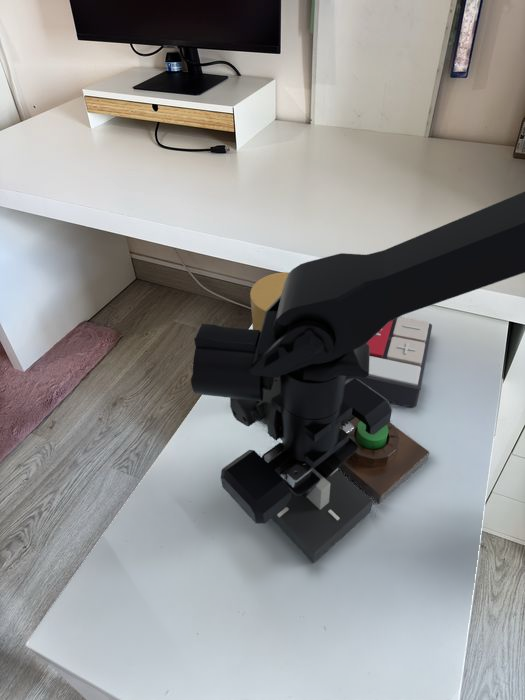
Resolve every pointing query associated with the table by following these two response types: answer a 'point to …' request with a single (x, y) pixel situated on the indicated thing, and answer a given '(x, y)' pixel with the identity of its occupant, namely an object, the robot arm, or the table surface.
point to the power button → (371, 437)
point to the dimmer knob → (320, 492)
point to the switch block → (384, 463)
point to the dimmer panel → (323, 517)
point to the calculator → (398, 360)
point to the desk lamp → (265, 296)
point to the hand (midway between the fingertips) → (308, 488)
